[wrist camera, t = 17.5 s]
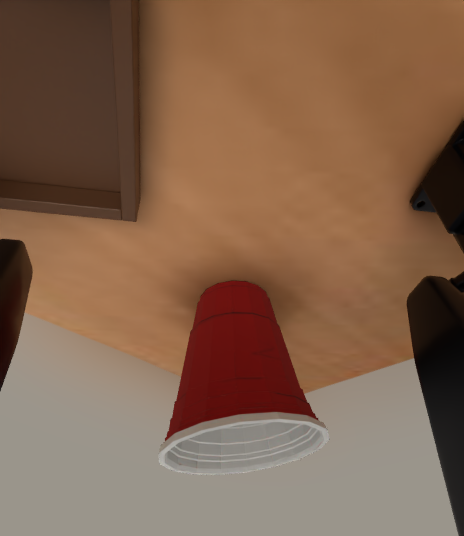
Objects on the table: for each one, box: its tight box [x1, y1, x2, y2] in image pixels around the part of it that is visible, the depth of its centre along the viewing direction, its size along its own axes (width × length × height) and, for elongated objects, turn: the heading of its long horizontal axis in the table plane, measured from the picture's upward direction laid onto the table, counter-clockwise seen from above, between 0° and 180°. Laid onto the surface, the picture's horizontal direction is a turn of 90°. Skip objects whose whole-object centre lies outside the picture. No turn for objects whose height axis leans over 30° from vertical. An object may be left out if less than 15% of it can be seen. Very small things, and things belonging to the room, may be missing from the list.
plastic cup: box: [159, 281, 329, 475], centre depth 28 cm, size 11×11×12 cm
